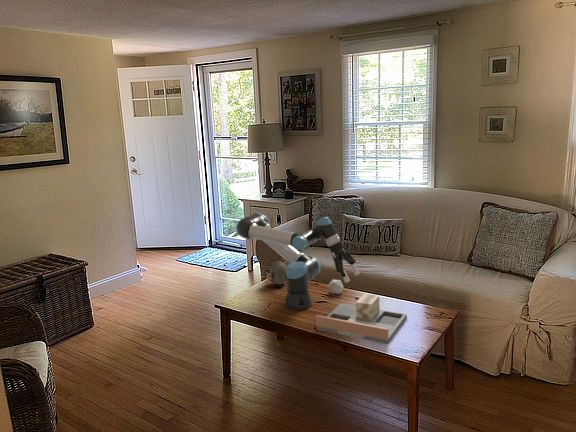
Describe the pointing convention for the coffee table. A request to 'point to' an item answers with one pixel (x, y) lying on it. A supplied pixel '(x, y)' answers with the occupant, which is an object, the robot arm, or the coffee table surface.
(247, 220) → the robot arm
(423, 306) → the coffee table surface
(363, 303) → the block
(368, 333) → the box
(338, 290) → the die
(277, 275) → the decorative egg
